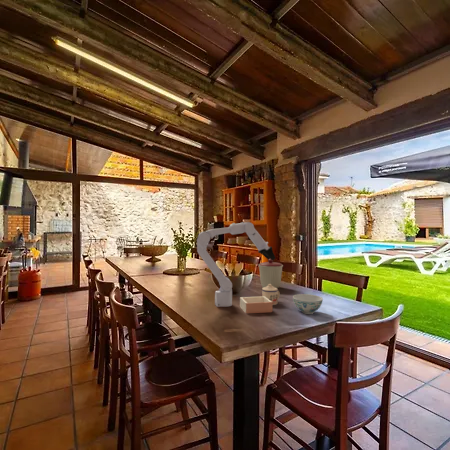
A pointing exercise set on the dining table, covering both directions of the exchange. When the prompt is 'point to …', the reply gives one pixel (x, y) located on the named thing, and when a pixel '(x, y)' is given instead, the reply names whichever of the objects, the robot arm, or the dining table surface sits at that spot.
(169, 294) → the dining table surface
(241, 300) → the box
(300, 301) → the chinaware
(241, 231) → the robot arm
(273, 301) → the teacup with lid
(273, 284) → the canister
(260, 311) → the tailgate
